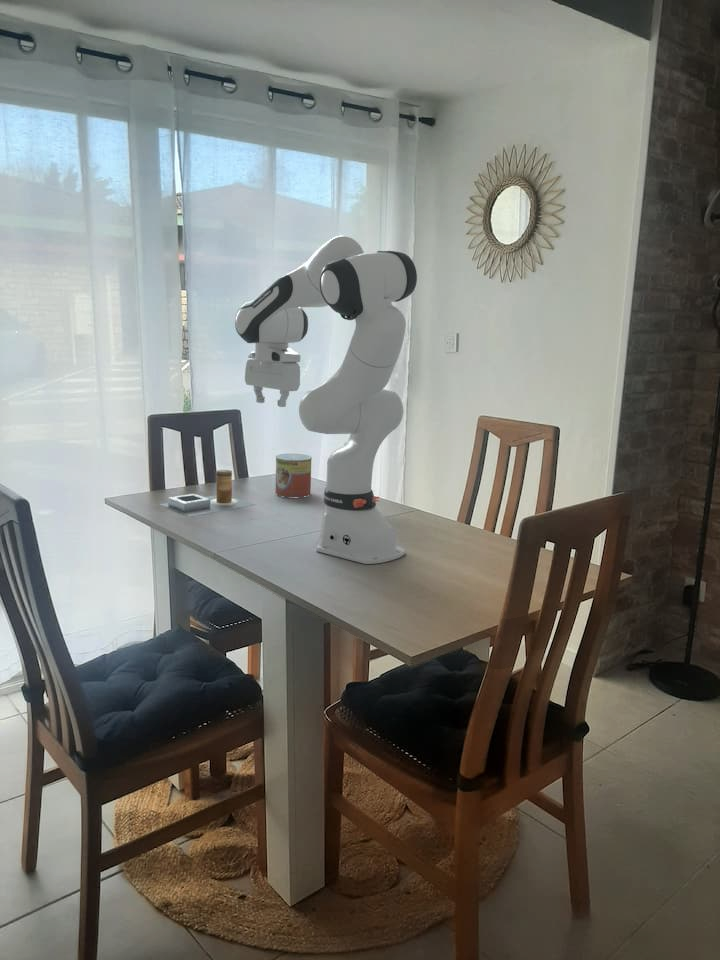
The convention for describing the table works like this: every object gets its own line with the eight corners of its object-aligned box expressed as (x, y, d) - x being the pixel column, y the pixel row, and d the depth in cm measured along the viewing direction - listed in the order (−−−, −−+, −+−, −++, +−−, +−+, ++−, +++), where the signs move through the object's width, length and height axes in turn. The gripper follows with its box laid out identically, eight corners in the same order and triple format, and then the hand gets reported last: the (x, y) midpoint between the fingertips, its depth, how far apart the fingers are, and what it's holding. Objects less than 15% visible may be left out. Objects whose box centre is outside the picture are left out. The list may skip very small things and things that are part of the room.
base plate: (255, 508, 210) (255, 504, 210) (189, 520, 195) (189, 516, 195) (224, 497, 221) (224, 493, 221) (159, 508, 206) (159, 504, 206)
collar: (210, 507, 205) (210, 499, 204) (184, 512, 199) (184, 503, 198) (194, 501, 210) (194, 493, 210) (168, 505, 205) (168, 497, 204)
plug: (234, 501, 212) (234, 471, 210) (222, 504, 209) (222, 473, 207) (225, 498, 215) (225, 469, 213) (213, 501, 212) (213, 470, 210)
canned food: (267, 493, 228) (268, 456, 226) (291, 488, 238) (291, 452, 235) (294, 500, 222) (295, 461, 220) (317, 494, 231) (319, 457, 229)
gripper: (239, 351, 200) (239, 401, 203) (286, 356, 186) (284, 409, 189) (258, 351, 205) (257, 400, 208) (304, 356, 191) (303, 408, 194)
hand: (270, 404), depth 198 cm, fingers open, 8 cm apart
